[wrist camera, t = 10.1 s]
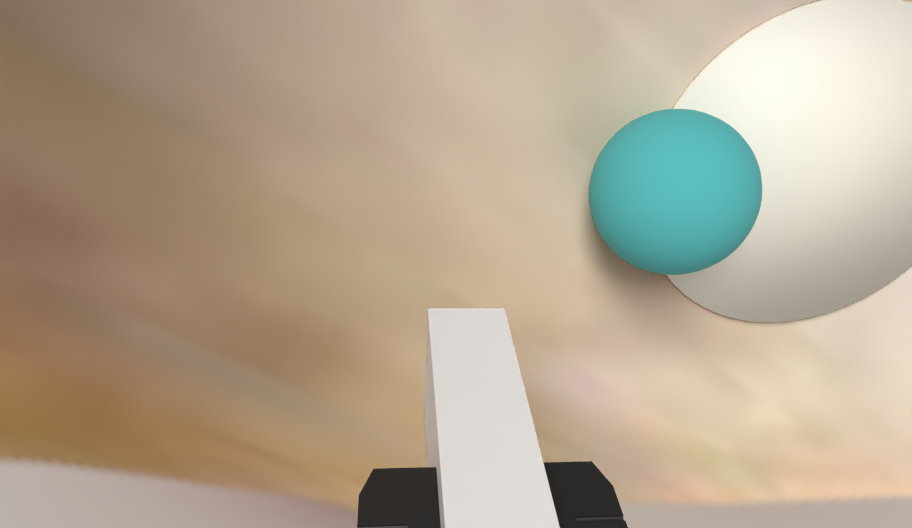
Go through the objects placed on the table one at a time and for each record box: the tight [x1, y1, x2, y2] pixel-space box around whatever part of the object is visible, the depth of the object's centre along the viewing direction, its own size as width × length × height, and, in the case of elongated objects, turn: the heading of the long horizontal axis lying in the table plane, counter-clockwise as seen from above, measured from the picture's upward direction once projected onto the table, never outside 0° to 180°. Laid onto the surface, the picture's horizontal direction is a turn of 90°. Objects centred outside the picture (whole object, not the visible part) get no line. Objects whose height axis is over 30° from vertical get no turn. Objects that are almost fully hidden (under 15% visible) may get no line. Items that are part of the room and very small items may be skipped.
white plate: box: [667, 0, 912, 323], centre depth 26 cm, size 13×13×1 cm
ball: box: [589, 109, 762, 275], centre depth 23 cm, size 6×6×6 cm
